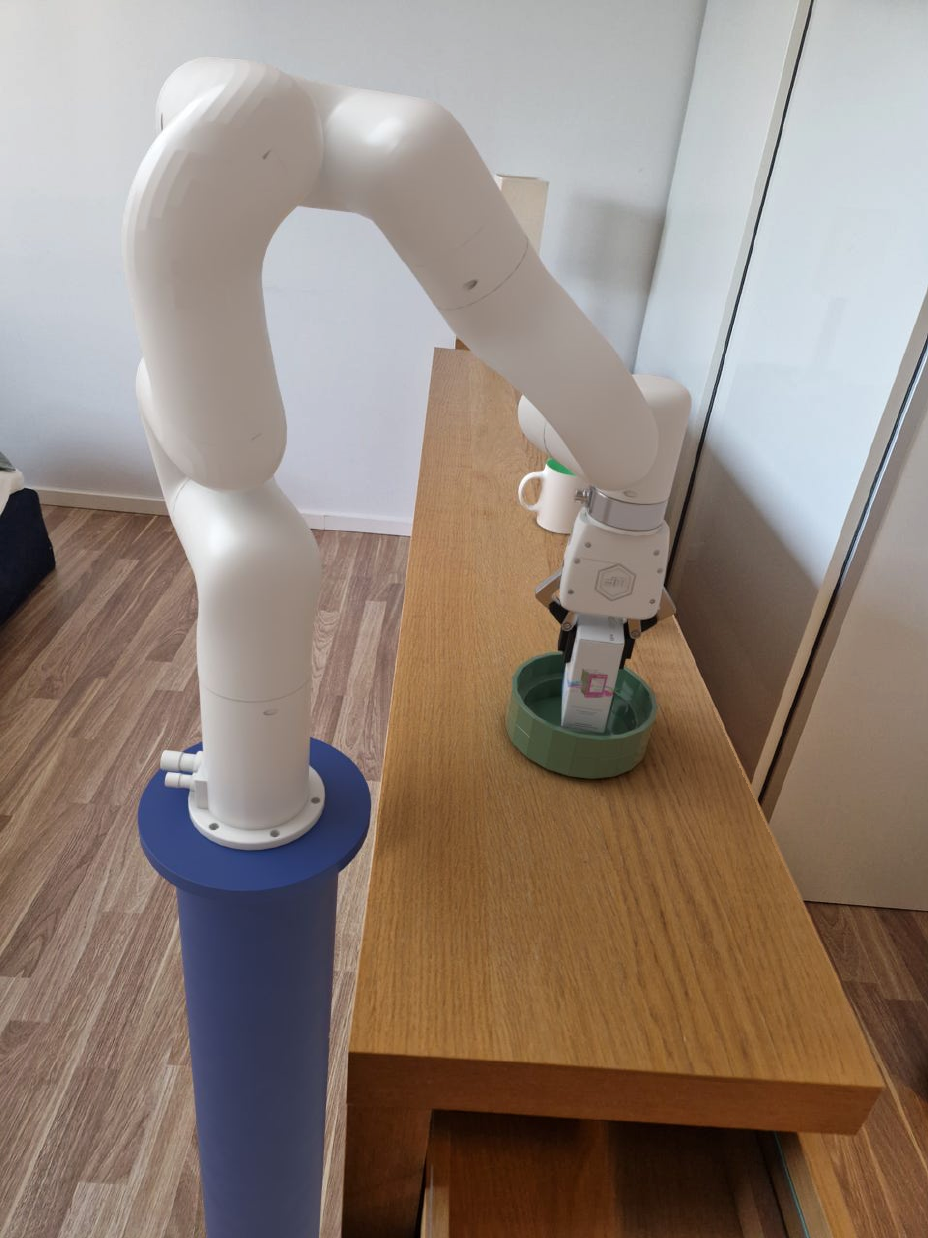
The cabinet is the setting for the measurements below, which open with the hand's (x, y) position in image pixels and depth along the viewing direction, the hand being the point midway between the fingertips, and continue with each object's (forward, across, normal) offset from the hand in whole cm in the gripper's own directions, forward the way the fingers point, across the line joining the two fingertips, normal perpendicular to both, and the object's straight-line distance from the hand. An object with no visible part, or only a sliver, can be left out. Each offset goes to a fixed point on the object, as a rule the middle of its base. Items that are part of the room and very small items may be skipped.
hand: (592, 657), depth 94 cm
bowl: (+11, 0, 0) cm, 11 cm away
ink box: (+7, 0, 0) cm, 7 cm away
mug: (+11, -1, +57) cm, 58 cm away
